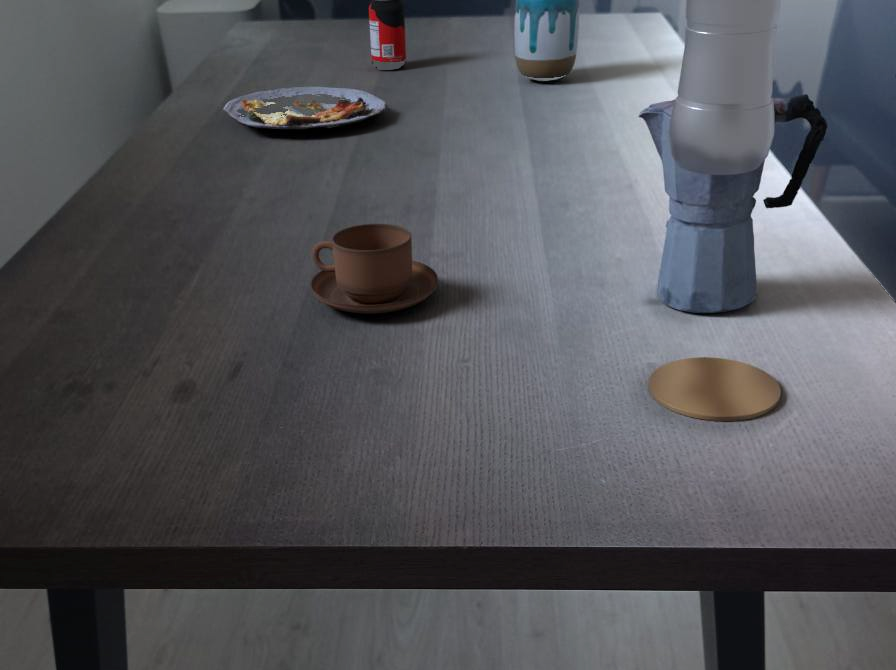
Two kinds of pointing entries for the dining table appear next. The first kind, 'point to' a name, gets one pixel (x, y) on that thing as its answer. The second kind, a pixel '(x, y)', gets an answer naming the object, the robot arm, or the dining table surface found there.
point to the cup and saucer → (372, 271)
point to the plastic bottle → (725, 87)
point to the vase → (546, 37)
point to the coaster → (714, 389)
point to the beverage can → (387, 30)
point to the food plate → (329, 118)
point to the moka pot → (718, 217)
